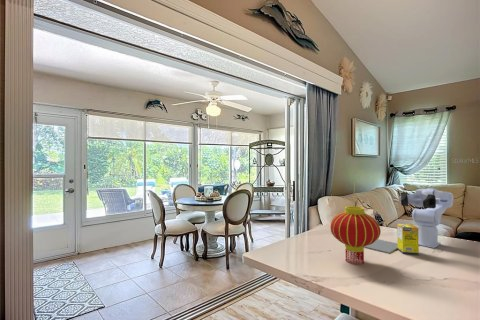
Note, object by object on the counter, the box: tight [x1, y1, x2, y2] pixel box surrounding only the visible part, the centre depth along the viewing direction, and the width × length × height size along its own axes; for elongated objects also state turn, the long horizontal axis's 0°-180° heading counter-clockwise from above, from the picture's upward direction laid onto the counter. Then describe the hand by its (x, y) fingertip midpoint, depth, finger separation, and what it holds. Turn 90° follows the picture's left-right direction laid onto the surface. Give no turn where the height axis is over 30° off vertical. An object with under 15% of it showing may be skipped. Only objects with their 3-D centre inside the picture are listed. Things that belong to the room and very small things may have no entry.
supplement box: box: [396, 223, 420, 256], centre depth 109 cm, size 6×6×11 cm
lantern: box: [329, 182, 381, 266], centre depth 99 cm, size 17×17×30 cm
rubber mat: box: [364, 238, 398, 255], centre depth 118 cm, size 16×15×1 cm
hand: (412, 203), depth 107 cm, fingers open, 7 cm apart
